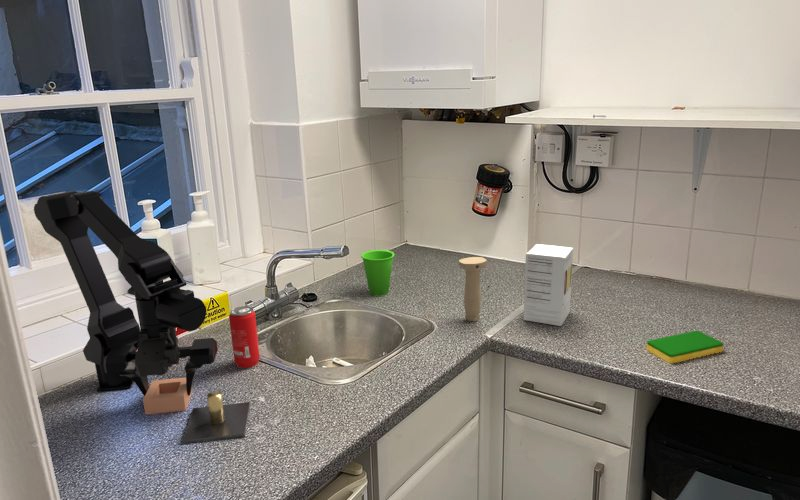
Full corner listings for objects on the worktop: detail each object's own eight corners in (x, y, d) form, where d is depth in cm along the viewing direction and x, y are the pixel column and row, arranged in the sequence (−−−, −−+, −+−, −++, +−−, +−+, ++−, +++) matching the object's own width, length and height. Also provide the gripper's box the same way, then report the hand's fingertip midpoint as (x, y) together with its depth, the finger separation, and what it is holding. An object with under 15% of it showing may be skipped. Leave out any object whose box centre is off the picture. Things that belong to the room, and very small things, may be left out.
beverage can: (230, 363, 125) (223, 311, 122) (251, 355, 128) (246, 303, 125) (243, 371, 121) (236, 317, 118) (264, 362, 125) (259, 310, 121)
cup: (392, 299, 157) (391, 260, 154) (359, 298, 159) (357, 259, 156) (398, 287, 166) (397, 249, 163) (366, 286, 167) (364, 249, 164)
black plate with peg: (182, 443, 98) (178, 413, 97) (193, 410, 108) (189, 383, 106) (244, 436, 100) (241, 407, 98) (250, 405, 109) (246, 377, 107)
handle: (456, 317, 145) (456, 259, 140) (480, 313, 146) (480, 256, 142) (464, 325, 140) (464, 265, 136) (489, 321, 142) (489, 261, 138)
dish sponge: (645, 351, 126) (646, 340, 125) (696, 339, 130) (697, 329, 130) (670, 365, 120) (671, 355, 119) (723, 353, 124) (724, 343, 123)
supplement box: (561, 327, 138) (565, 258, 133) (522, 320, 142) (524, 253, 137) (570, 312, 146) (574, 246, 141) (533, 306, 150) (535, 242, 145)
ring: (145, 414, 107) (142, 399, 106) (154, 394, 114) (152, 380, 113) (185, 410, 108) (183, 395, 107) (192, 390, 115) (190, 376, 114)
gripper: (85, 343, 97) (101, 426, 102) (203, 333, 100) (214, 414, 104) (106, 316, 108) (121, 393, 112) (212, 308, 110) (222, 383, 115)
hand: (168, 396), depth 111 cm, fingers closed on ring, 7 cm apart
